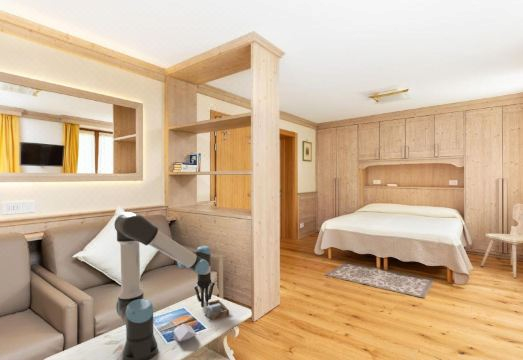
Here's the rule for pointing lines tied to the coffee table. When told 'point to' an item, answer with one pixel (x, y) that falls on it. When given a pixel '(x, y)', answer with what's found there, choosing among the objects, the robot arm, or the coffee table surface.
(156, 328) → the coffee table surface
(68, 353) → the coffee table surface
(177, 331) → the pale lavender faceted block
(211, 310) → the t block
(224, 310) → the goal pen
